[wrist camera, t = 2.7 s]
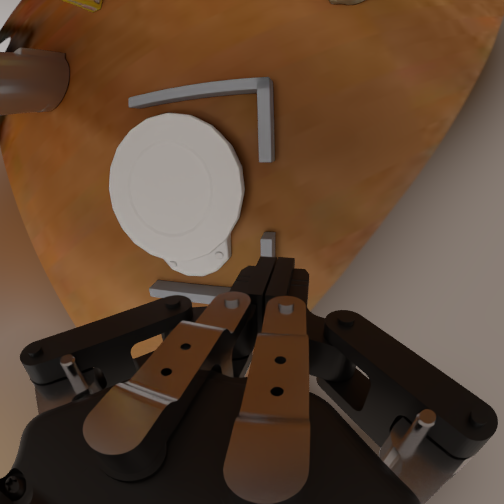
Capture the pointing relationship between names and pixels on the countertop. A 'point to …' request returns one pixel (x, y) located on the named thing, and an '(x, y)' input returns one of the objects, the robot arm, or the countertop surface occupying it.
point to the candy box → (87, 4)
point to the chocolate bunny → (345, 2)
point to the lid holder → (266, 154)
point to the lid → (178, 191)
